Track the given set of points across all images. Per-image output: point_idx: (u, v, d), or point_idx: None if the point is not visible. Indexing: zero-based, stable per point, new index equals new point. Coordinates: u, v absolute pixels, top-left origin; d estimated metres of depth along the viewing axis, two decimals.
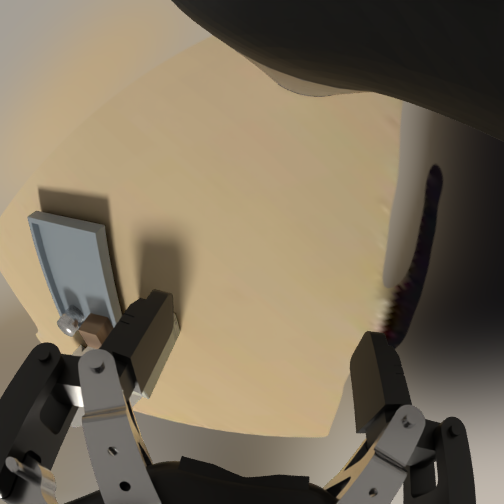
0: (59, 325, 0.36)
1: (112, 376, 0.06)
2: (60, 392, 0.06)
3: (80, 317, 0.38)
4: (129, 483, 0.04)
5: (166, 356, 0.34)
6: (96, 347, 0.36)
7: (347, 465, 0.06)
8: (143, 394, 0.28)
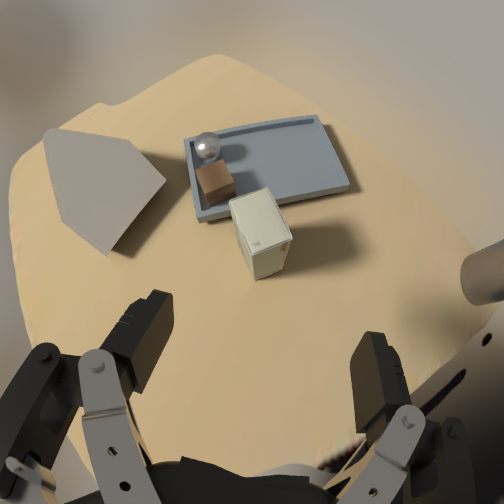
0: (206, 134, 0.36)
1: (112, 376, 0.06)
2: (60, 392, 0.06)
3: (215, 161, 0.39)
4: (129, 483, 0.04)
5: (260, 269, 0.31)
6: (204, 181, 0.34)
7: (347, 465, 0.06)
8: (261, 246, 0.25)
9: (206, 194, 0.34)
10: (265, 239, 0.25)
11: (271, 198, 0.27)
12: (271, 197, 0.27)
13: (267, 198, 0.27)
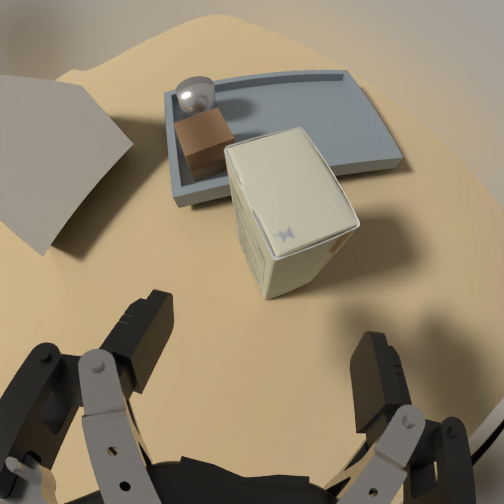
0: (195, 79, 0.22)
1: (112, 376, 0.06)
2: (60, 392, 0.06)
3: None
4: (129, 483, 0.04)
5: (279, 286, 0.17)
6: (186, 137, 0.20)
7: (347, 465, 0.06)
8: (296, 240, 0.11)
9: (188, 157, 0.20)
10: (304, 226, 0.11)
11: (310, 145, 0.12)
12: (310, 144, 0.13)
13: (302, 144, 0.12)
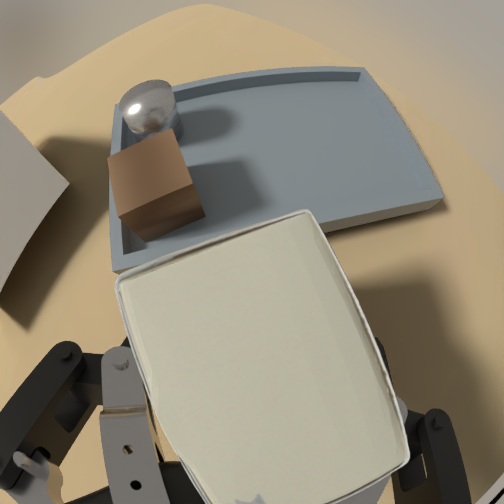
0: (147, 84, 0.15)
1: (138, 373, 0.07)
2: (78, 391, 0.06)
3: None
4: (140, 482, 0.04)
5: None
6: (122, 183, 0.13)
7: None
8: None
9: (123, 217, 0.12)
10: (294, 490, 0.04)
11: (332, 270, 0.05)
12: (331, 264, 0.05)
13: (311, 270, 0.05)
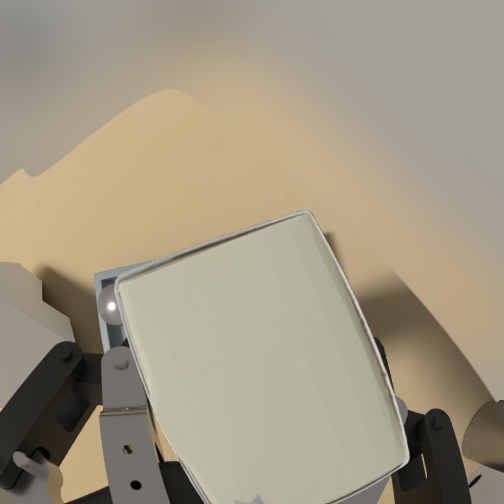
0: None
1: (137, 373, 0.07)
2: (78, 391, 0.06)
3: None
4: (140, 482, 0.04)
5: None
6: None
7: None
8: None
9: None
10: (293, 491, 0.04)
11: (331, 271, 0.05)
12: (331, 265, 0.05)
13: (310, 271, 0.05)
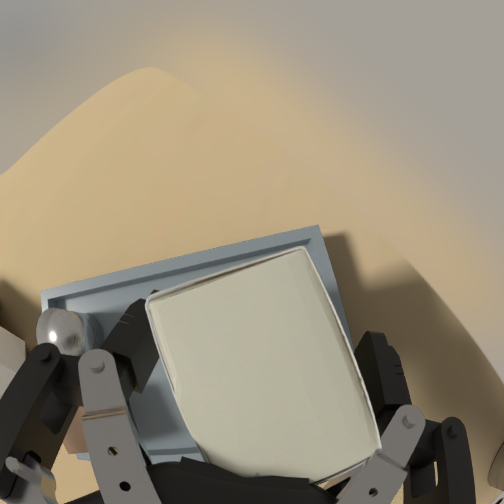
0: (53, 315, 0.14)
1: (112, 376, 0.06)
2: (60, 392, 0.06)
3: None
4: (129, 483, 0.04)
5: None
6: None
7: None
8: None
9: None
10: (285, 470, 0.05)
11: (320, 297, 0.06)
12: (320, 292, 0.06)
13: (303, 296, 0.06)
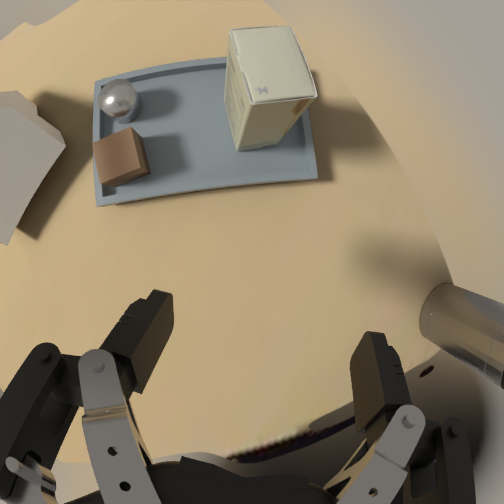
0: (117, 83, 0.19)
1: (112, 376, 0.06)
2: (60, 392, 0.06)
3: (129, 119, 0.23)
4: (129, 483, 0.04)
5: (251, 135, 0.21)
6: (101, 162, 0.21)
7: (347, 465, 0.06)
8: (269, 95, 0.14)
9: (103, 183, 0.21)
10: (277, 87, 0.14)
11: (294, 39, 0.14)
12: (294, 38, 0.14)
13: (288, 37, 0.13)
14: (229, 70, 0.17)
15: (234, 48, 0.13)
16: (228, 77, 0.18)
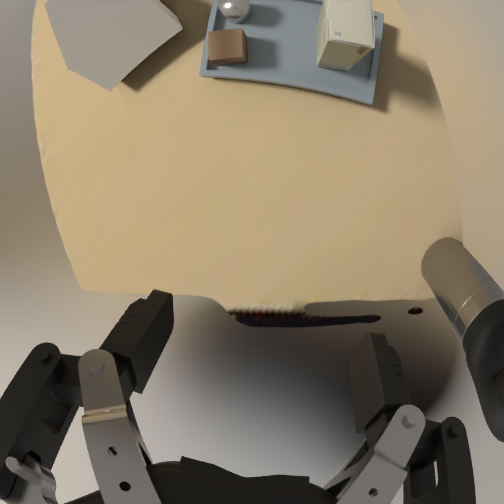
0: None
1: (112, 376, 0.06)
2: (60, 392, 0.06)
3: (239, 21, 0.25)
4: (129, 483, 0.04)
5: (328, 58, 0.23)
6: (213, 46, 0.25)
7: (347, 465, 0.06)
8: (341, 37, 0.17)
9: (210, 60, 0.26)
10: (347, 34, 0.16)
11: (370, 7, 0.15)
12: (371, 6, 0.15)
13: (366, 4, 0.15)
14: (322, 12, 0.18)
15: (326, 1, 0.15)
16: (321, 16, 0.19)
